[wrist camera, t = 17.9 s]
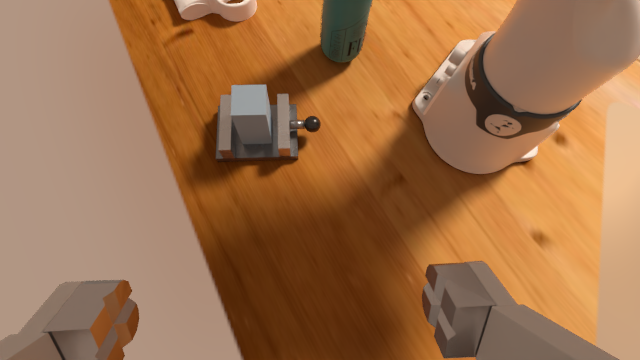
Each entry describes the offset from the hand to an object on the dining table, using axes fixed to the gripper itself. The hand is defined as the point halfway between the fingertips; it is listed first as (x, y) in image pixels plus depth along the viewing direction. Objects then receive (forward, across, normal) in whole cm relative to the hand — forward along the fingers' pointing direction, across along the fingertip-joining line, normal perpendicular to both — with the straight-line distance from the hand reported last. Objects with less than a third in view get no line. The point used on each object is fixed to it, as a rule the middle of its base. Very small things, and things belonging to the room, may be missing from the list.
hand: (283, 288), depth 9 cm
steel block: (+39, +5, +8) cm, 40 cm away
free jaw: (+38, -1, +8) cm, 39 cm away
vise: (+40, +5, +9) cm, 41 cm away
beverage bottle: (+49, -8, 0) cm, 50 cm away
